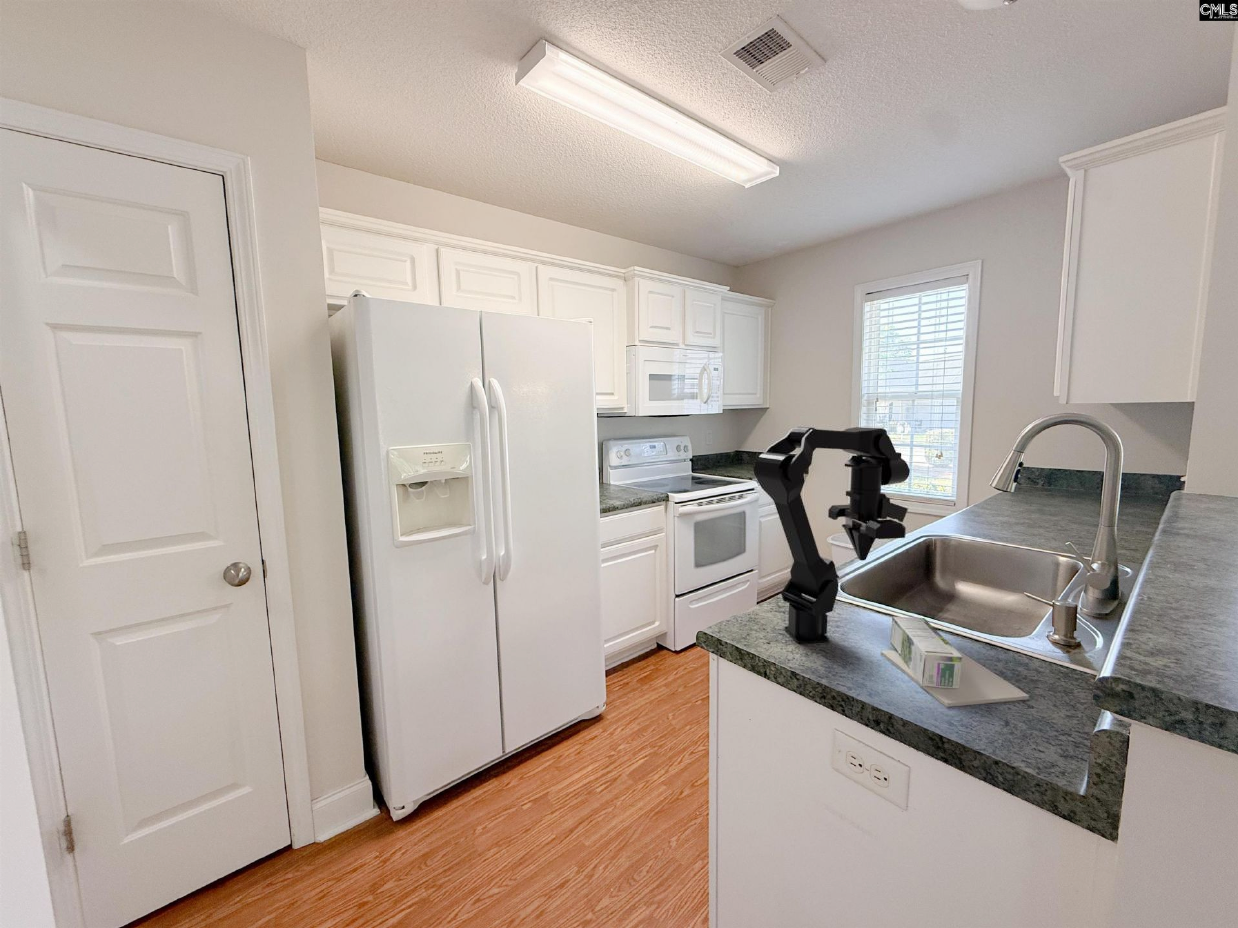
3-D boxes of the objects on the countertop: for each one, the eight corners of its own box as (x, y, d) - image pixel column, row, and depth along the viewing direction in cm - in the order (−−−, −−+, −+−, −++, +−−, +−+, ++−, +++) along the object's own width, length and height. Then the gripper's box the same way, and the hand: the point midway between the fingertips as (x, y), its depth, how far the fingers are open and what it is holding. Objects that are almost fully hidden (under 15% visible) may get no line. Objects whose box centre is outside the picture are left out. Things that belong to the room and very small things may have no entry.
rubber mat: (946, 707, 76) (946, 703, 76) (880, 654, 92) (881, 651, 92) (1028, 699, 78) (1028, 695, 78) (950, 648, 94) (950, 645, 94)
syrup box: (921, 645, 94) (962, 690, 80) (888, 644, 95) (922, 687, 81) (924, 617, 93) (965, 656, 79) (890, 615, 94) (925, 654, 80)
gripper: (934, 494, 95) (928, 573, 97) (874, 479, 114) (871, 545, 116) (879, 497, 94) (875, 576, 96) (828, 481, 113) (825, 547, 115)
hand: (862, 559), depth 106 cm, fingers closed
